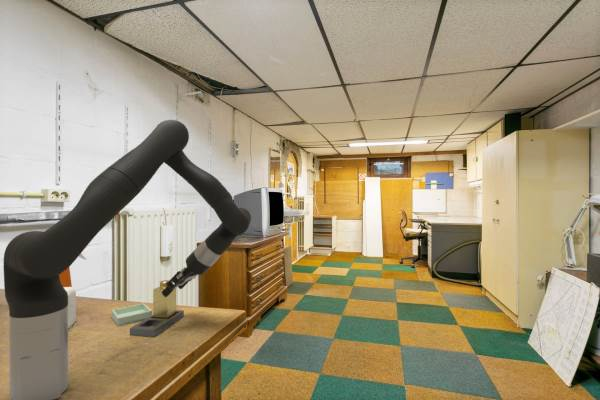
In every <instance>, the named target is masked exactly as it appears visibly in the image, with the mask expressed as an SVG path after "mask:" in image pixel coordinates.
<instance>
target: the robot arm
mask: <svg viewBox="0 0 600 400" xmlns="http://www.w3.org/2000/svg"><path fill="white" fill-rule="evenodd" d="M189 137H190V133H189V130H188V128H187V126H186V125H185V124H184V123H183V122H181V121H179V120H175V119H166V120H163V121H161V122H160V123H158V124H157V125H156V126H155V128H153V130H152V131H151V133H149V135H148V136H146V137H145V138H144V140H143V141H141V143H140V144H138V145H137V146H136V147H134V148H133V149H130V151H129V152H127V153H126V154H124V155H123V156H122V157H120V158H119V159H118V160H116V161H115V162H114V163H112V164H111V165H110V166H108V167H107V168H105V170H103V171H102V172H100V174H98V175H97V176H96V177H95V178H94V179H93V180H92V181H91V182H90V183H89V184H88V185H87V187H86V188H85V190H84V191H83V193H82V195H81V197H80V199H79V200H78V201H77V203H76V205H75V206H74V207H73V208H72V210H70V211H69V212H68V213H67V214H66V215H65V216H64V217H62V218H61V219H60V220H58V221H57V222H55V224H53V225H51V227H49V228H47V229H45V230H43V231H42V230H31V231H26V232H22V233H20V234H19V235H17V236H15V237H14V238H12V239H11V240H10V241H9V243H8V244H7V245H6V247H5V251H4V254H3V283H4V284H3V285H4V286H3V287H4V298H5V299H6V300H5V301H6V303H7V306H8V313H9V314H8V317H9V318H8V320H9V322H8V323H9V324H8V325H9V331H8V338H9V339H8V340H9V341H8V343H9V345H8V348H9V351H8V353H9V357H8V359H9V366H8V367H9V368H8V369H9V400H57V399H60V398H61V397H62V395H63V393H64V392H65V391H66V390H67V389H68V387H69V328H68V294H67V292H66V290H65V289H64V288H63V286H62V284H61V281H60V277H59V274H61V273H62V272H64V271H65V270H66V269H67V268H70V267H71V266H72V265H73V263H74V262H75V261H76V260H77V258H79V255H80V254H82V252H83V251H84V250H85V249H86V248H87V246H88V245H89V244H90V243H91V242H92V241H93V240H94V238H95V237H96V236H97V234H99V232H100V231H101V230H102V229H103V228H104V227H106V226H107V225H108V224H109V223H110V222H111V221H112V220H113V219H115V217H116V216H117V215H118V214H119V213H120V212H121V211H122V210H123V209H124V208H125V207H127V206H128V205H129V204H130V202H132V201H133V200H134V199H135V198H136V197H137V196H138V194H139V193H141V192H142V191H143V189H145V187H146V185H148V183H150V181H151V180H152V179H153V177H154V175H156V173H157V172H158V170H159V168H161V166H162V165H163V164H166V165H167V166H168V167H169V168H171V169H172V171H174V172H175V173H176V174H177V175H179V176H180V177H181V178H182V179H183V180H184V181H186V182H187V184H188V185H190V186H191V187H192V188H193V189H194V190H195V191H196V192H197V193H198V194H199V195H200V197H202V199H203V200H204V201H205V202H206V203H207V204H208V205H209V206H210V207H211V208H212V209H213V211H214V212H215V214H216V216H217V217H218V219H219V221H220V222H221V223H220V224H219V225H218V227H217V228H215V229H214V230H213V231H212V232H210V234H209V235H208V236H207V237H206V238H205V240H204V241H202V242H201V243H200V244H199V245H198V246H197V247H196V248H195V249H194V250H193V251H192V252H191V253H190V254H189V255H188V256H187V258H186V259H185V264H186V267H183V268H182V269H181V270H179V271H177V272H176V273H175V274H174V275H173V277H171V279H168V280H169V281H168V282H167V284H166V285H167V287H166V288H165V289H164V290H163V291H162V294H163V295H164V297H167V296H168V295H169V294H170V293H171V292H172V291H173V290H174V289H176V290H177V288H179V290H182V289H184V287H186V286H187V285H188V283H190V282H191V281H192V280H194V279H196V278H197V276H199V275H200V276H202V275H204V274H206V273H207V272H208V270H210V268H211V267H212V266H213V265H214V264H216V262H218V260H219V259H220V257H222V255H223V254H224V253H225V252H226V251H227V249H229V248H230V246H231V245H232V244H233V242H234V240H235V239H236V238H237V237H238V236H239V235H243V234H244V233H246V232H247V230H248V229H249V226H250V225H251V221H252V216H251V213H250V211H249V210H248V209H246V208H244V207H238V205H236V203H235V202H234V199H233V196H232V194H231V193H230V191H228V189H227V188H226V187H225V186H224V185H223V184H222V182H220V180H219V179H218V178H216V177H215V176H214V175H213V174H211V173H209V172H208V171H206V170H204V169H202V168H201V167H199V166H198V165H197V164H195V163H193V162H192V161H191V159H189V157H188V156H187V155H186V153H185V152H184V149H185V148H186V147H187V145H188V143H189V139H190V138H189Z"/></svg>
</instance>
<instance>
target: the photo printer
mask: <svg viewBox="0 0 600 400" xmlns="http://www.w3.org/2000/svg"><path fill="white" fill-rule="evenodd" d="M63 288H64V289H65V290H66V292H67V294H68V329H70V328H71V327H72V326H73V325H74V323H75V322H76V320H77V296H76V295H77V292H76V289H75V288H74V287H73V286H72V287H63Z"/></svg>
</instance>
